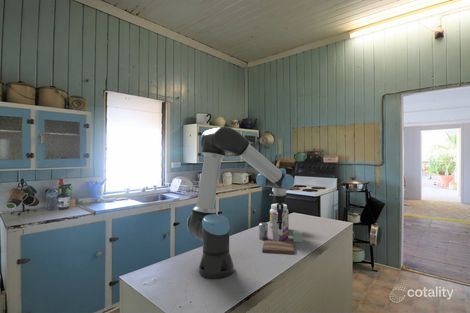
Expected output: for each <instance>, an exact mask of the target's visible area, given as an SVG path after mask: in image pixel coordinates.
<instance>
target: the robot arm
mask: <svg viewBox="0 0 470 313" xmlns="http://www.w3.org/2000/svg"><path fill="white" fill-rule="evenodd" d="M199 140H200V143H199V144H200V146H201V148H202V150H201V154H202V156H203V163H202V169H201V175H200V181H199V186H198V193H197V198H196V199H197V200H196V204H195V206H194V207H193V208H192V210H191V211H192V212H191V213H190V214H189V216H188V217H187V219H186V229H187V231H188V233H189V234H191V236H192V237H194V238H195V239H198V240H199V241H201V242H202V255H201V258H200V259H201V260H200V262H199V265H198V273H199V275H200V276H201V277H203V278H205V279H211V280H213V279H214V280H215V279H217V280H218V279H223V278H226V277H229V276H231V275H232V274H233V273H234V272H235V271H234V270H235V268H234V261H233V259H232V256H231V252H230V222H229V219H228V217H226V216H224V215H222V214H218V213H217V210H216V209H215V203H216V202H215V201H216V197H217V189H218V184H219V179H220V178H219V176H220V173H221V172H220V170H221V164H222V160H223V159H224V158H226V154H227V153H226V152H228V153H230V154H232V155H233V156H234V157H240V158H241V159H242V160H243V161H245V163H247V164H248V165H249V166H251V167H253V169H255V171H257V172H259V173H258V174H257V175H256V177H255V181H256V184H257V186H258V187H263V188H264V187H269V188H270V187H271V188H272V190H273V202H275V203H276V204H277V212H278V222H277V224H278V235H283V222H282V213H283V204H284V203H286V202H287V192H288V190H291V189H292V188H293V187H294V185H295V178H294V177H293V175H291V174H288V173H287V170H286V168H279V167H277V166H276V165H274V163H272V162H271V161H270V160H269V159H268V158H266V157H265V156H264V155H263V154H262V153H261V152H259V151H258V150H257V149H256V148H255V147H254V146H253V145H251V144H250V140H249V139H247V138H246V137H245V136H244V135H243V134H242V133H240V131H237V130H236V129H235V128H232V127H229V126H220V127H214V128H213V127H211V128H209V129H207V130H205V131H204V132H203V133H202V134H201V136H200V139H199Z"/></svg>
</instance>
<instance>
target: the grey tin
mask: <svg viewBox="0 0 470 313" xmlns="http://www.w3.org/2000/svg"><path fill="white" fill-rule="evenodd" d="M268 227H269V226H268V223H267V222H259V223H258V234H259V235H258V239H259V240H261V241H264V240H269V238H268V237H269V236H268V235H269V234H268Z"/></svg>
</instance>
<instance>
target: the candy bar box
mask: <svg viewBox="0 0 470 313" xmlns="http://www.w3.org/2000/svg"><path fill="white" fill-rule="evenodd" d="M288 219H289V210H288V211H286V210H283V213H282V222H283V235H278V224H277V222H278V212H275V213H272V225H273V231H272V241H285V240H286V239H288V238H289V229H288Z"/></svg>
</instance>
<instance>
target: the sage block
mask: <svg viewBox="0 0 470 313" xmlns="http://www.w3.org/2000/svg"><path fill="white" fill-rule="evenodd" d="M292 234H293V235H292V236H293V237H292V238H293V240H292V242H293V243H294V242H295V243H296V242H297V243H303V230H292Z"/></svg>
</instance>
